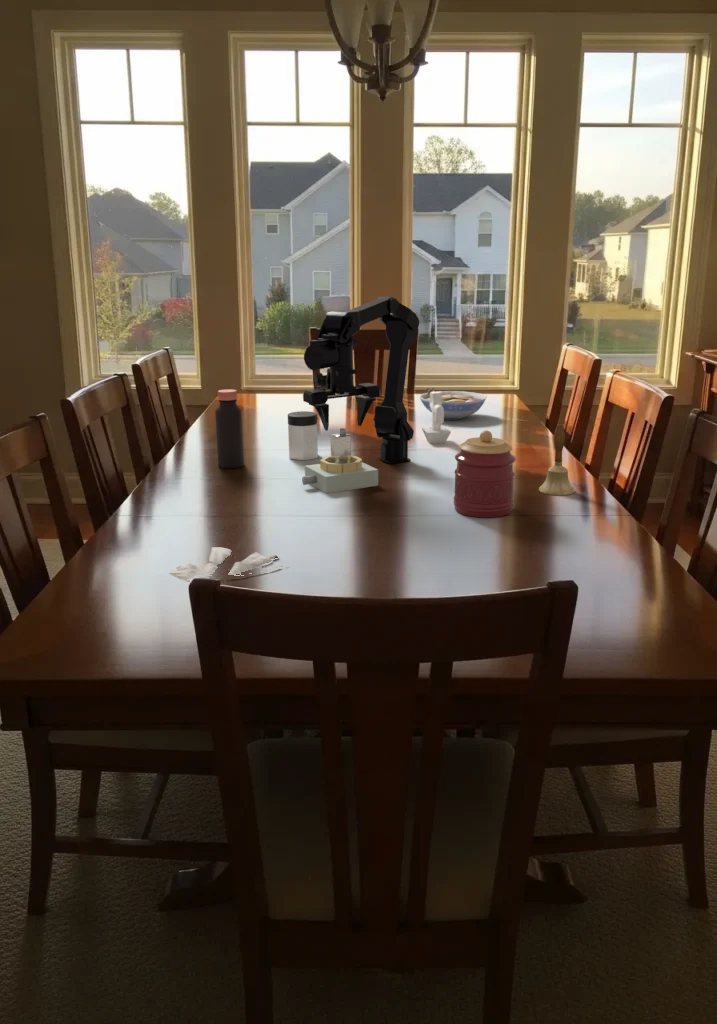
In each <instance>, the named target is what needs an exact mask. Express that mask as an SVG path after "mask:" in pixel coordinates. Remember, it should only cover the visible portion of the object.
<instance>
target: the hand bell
mask: <svg viewBox="0 0 717 1024" xmlns="http://www.w3.org/2000/svg"><path fill="white" fill-rule="evenodd" d="M565 442H566V433H565V429H564V424H562V423H557V426H556V427H555V430H554V433H553V446H554V450H555V453H554V465H553V466H551V467H549V468H548V470H547V475H546V478H545V480H544V482H543V484H541V485H540V487H539V488H538V491H539V492H540V493H541V494H542V493H543V494H544V495H548V496H558V497H559V496H561V497H562V496H571V495H572V494H574V493H576V490H575V487H573V486H572V485H571V482H570V479H569V470H568V468H567V467H565V466H563V449H564V446H565Z"/></svg>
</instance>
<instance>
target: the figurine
mask: <svg viewBox="0 0 717 1024" xmlns="http://www.w3.org/2000/svg"><path fill="white" fill-rule="evenodd" d="M441 391H442V390H439V392H438V391H431V393H430V409H431V410H432V412H431V427H421V430H422V432H423V434H424V436H425V439H426V441H427V442H428V443H429V444H431V445H432V444H433V445H436V444H446V442H447V440H448V438H449V436H450V435H451V433H452V431H451V430H450V429H448V428H447V427H445V426H441V425H443V424H444V422H445V421H444V420H445V419H444V409H443V407H442V406H441V404H442V392H441Z"/></svg>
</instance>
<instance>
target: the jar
mask: <svg viewBox="0 0 717 1024" xmlns="http://www.w3.org/2000/svg"><path fill="white" fill-rule="evenodd" d="M318 418H319V417H318V412H314V411H307V410H306V411H303V410H302V411H301V410H300V411H293V412H290V413H288V414H287V424H288V427H287V430H288V433H287V434H288V458H289V459H290V460H297V461H298V460H299V461H307V460H314V459H318V458H319V454H318V453H319V451H318V450H319V448H318V445H319V444H318V420H319V419H318Z"/></svg>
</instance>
